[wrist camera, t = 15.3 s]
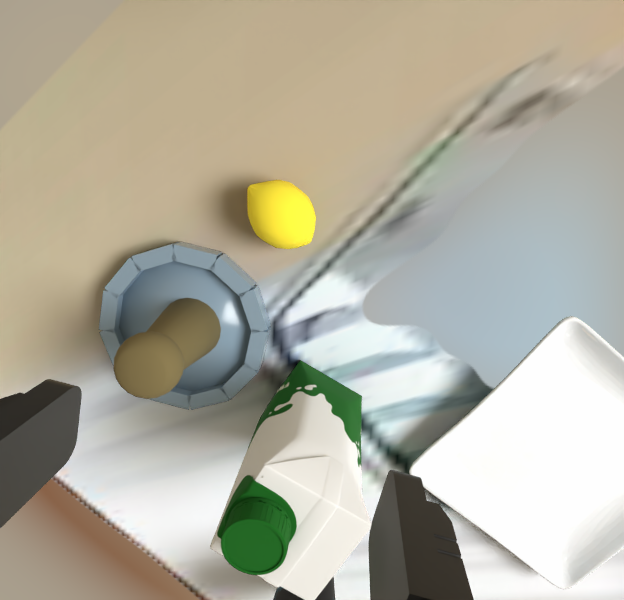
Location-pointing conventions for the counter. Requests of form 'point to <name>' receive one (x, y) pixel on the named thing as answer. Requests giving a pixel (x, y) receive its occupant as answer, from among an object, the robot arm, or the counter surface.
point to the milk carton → (298, 487)
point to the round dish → (198, 285)
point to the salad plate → (543, 457)
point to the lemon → (280, 214)
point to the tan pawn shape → (166, 348)
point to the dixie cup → (283, 596)
